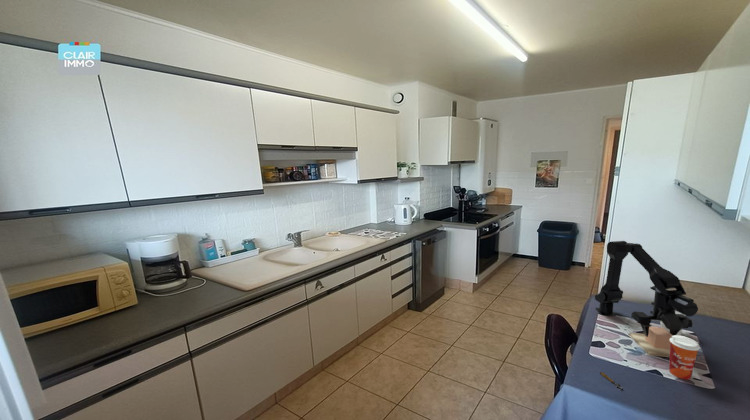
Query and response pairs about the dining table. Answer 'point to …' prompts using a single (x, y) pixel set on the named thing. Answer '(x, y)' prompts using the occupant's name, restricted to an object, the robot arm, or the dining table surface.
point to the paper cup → (682, 356)
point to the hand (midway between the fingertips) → (658, 337)
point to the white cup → (669, 329)
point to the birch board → (649, 346)
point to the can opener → (610, 380)
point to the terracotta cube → (659, 337)
